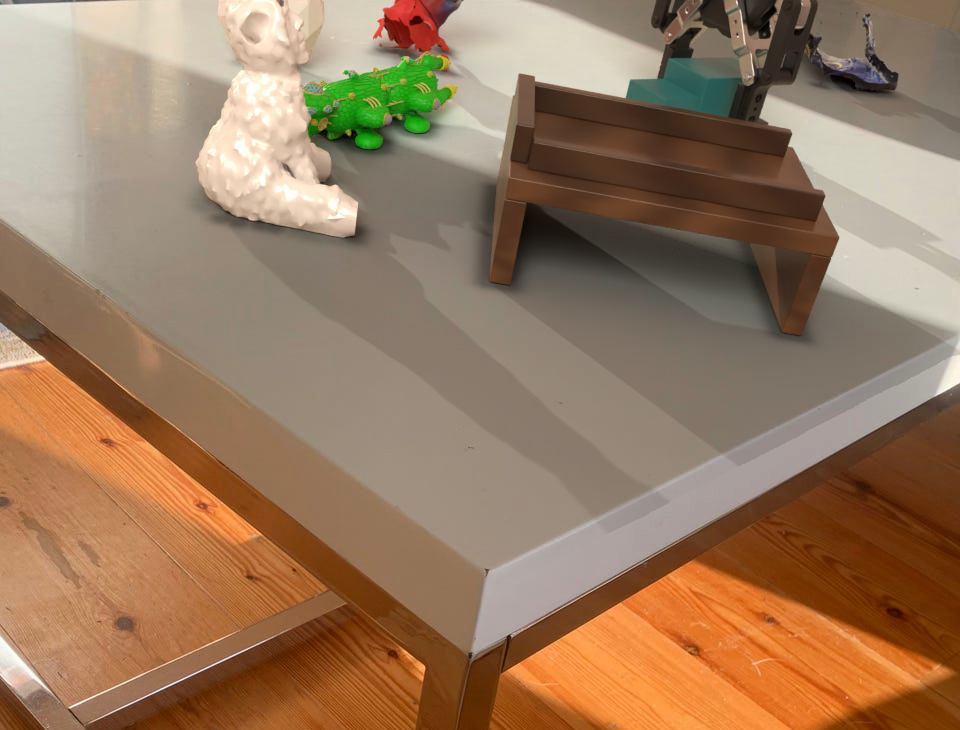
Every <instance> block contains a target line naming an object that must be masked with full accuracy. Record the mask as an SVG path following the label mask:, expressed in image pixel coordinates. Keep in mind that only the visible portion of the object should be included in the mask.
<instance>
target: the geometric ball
mask: <svg viewBox="0 0 960 730" xmlns="http://www.w3.org/2000/svg"><path fill="white" fill-rule="evenodd" d="M227 1H230V0H218V6H217V19H218V21H219V23H220V25H221V27H222V29H223V31H224V34H225V36H226V37H227V39H228V41H230V39H229V37H228V34H227V30H226V26H225V19H226V16H227V12H226V9H225V5H224V4H225V3H226V2H227ZM287 1H288V6H289V9H290V10H292V11H293V12H295V13H296V14H297V15H299V16H300V17H301V18H302V19H303V21H304V25H303V26H302V27H301V28H300V29H301V31H302V32H303V34H304V36H305V37H304V40H305V42H306V50H307V52H308V54H309V55H311V53H312V51H313V49H314V47H315V44H316V42H317V40H318V38H319V36H320V34H321V31H322V29H323V26H324V23H325V2H324V0H287Z"/></svg>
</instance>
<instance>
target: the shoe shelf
mask: <svg viewBox="0 0 960 730" xmlns="http://www.w3.org/2000/svg"><path fill="white" fill-rule="evenodd" d="M507 121H508V122H507V126H506V132H505V138H504V142H503V148H502V153H501V160H500V164H499V169H498V176H497V181H496V188H495V200H494V212H493V226H492V239H491V253H490V267H489V279H488V281H489V282H490V283H495V284H502V285H505V286H506V285H507V286H511V284H512V279H513V275H514V269H515V264H516V261H517V254H518V250H519V244H520V239H521V234H522V229H523V224H524V221H525V220H524V219H525V215H526V211H527V205H528V204H534V205H539V206H544V207H550V208H555V209H560V210H566V211H571V212H577V213H584V214H588V215H593V216H599V217H605V218H610V219H616V220H622V221H627V222H633V223H639V224H644V225H649V226H655V227H661V228H665V229H671V230H679V231H684V232H688V233H694V234H698V235H699V234H700V235H706V236H710V237H715V238H721V239H727V240H733V241H738V242H744V243H748V244H749V245H750V249H751V251H752V254H753V258H754V259H755V262H756V266H757V269H758V270H759V273H760V276H761V279H762V282H763V284H764V287H765V290H766V293H767V295H768V298H769V301H770V304H771V306H772V309H773V313H774V315H775V318H776V320H777V323H778V327H779V329H780V331H781V333H783V334H788V335H795V336H799V337H800V336H802V335H803V333H804V330H805V328H806V325H807V322H808V320H809V318H810V315H811V312H812V310H813V307H814V304H815V302H816V299H817V296H818V294H819V291H820V289H821V286H822V284H823V281H824V279H825V276H826V274H827V271H828V269H829V266H830V263H831V261H832V258H833V256H834V253H835V250H836V248H837V247H838V243H839V240H840V235H839V233H838V231H837V230H836V229H837V228H836V227H835V225H834V224H833V222H832V220H831V218H830V216H829V213H828V212H827V210H826V208H825V206H824V202H825V199H826V194H825V192H824V190H823V189H818V188H815V187H814V185H813V184H812V181H811V179H810V177H809V175H808V174H807V172H806V170H805V168H804V166H803V164H802V162H801V160H800V159H799V156H798V154H797V152H796V150H795V149H794V147H793V146H789V145H790V142H791V139H792V136H793V132H792V130H791V129H790V128H787V127H781V126H776V125H770V124H768V125H765V124H760V123H755V122H749V121H744V120H739V119H734V118H728V117H723V116H718V115H712V114H707V113H702V112H696V111H691V110H686V109H680V108H675V107H670V106H664V105H659V104H654V103H649V102H643V101H638V100H633V99H627V98H626V97H621V96H616V95H611V94H606V93H600V92H595V91H589V90H585V89H579V88H573V87H568V86H565V85H557V84H554V83H553V84H552V83H548V82H541V81H536V76H535V75H530V74H526V73H518V75H517V80H516V85H515V91H514V95H512V99H511V103H510V110H509V116H508V120H507Z"/></svg>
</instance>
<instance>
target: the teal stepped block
mask: <svg viewBox="0 0 960 730" xmlns="http://www.w3.org/2000/svg"><path fill="white" fill-rule="evenodd" d="M738 83H742V79H741V71H740V64H739V59H737V58H735V57H692V58H669V60H668V64H667V68H666V71H665V75H664V79H657V78H631V79H629V82H628V87H627V91H626V95H625V98H627V99H633V100H638V101H643V102H649V103H654V104H659V105H664V106H670V107H675V108H680V109H686V110H691V111H696V112H702V113H707V114H712V115H718V116H723V117H728V116H729V112H730V109H731V106H732V103H733V99H734V96H735V93H736V90H737V86H738ZM768 92H769V90H768V91H767V94H766V97H765V100H764V103H763V106H762V109H761V111H760V115H759V119H758V122H757V123H760V124H765V125H769V122H768V121H767V120H765V119H762V118H761V114H762V111H763V108H764V105H765V102H766V98H767V96H768Z"/></svg>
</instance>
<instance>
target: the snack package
mask: <svg viewBox="0 0 960 730" xmlns="http://www.w3.org/2000/svg"><path fill="white" fill-rule="evenodd" d="M854 13H855V14H856V15H857V14H859V12H858V11H855V12H854ZM839 15H842V12H839ZM861 18H862V19H861V20H862V24H861V25H862V27H863V28H865V31H866V32H865V34H866V39H865V41H866V43H865V48H864V55H865V58H866V59H865V58H862V57H855V56H854V57H849V58H840V57H837V56H833V55H829V54H827V53H825V52H824V51H823V50H821V49H819V44H820V43H821V41H822V40H823V37H822V36H814V35H813V34H812V33H811V32H810V34H809V38H808V41H807V44H806V47H805V50H804V51H805V52H806V54H807V58H808V60H809V61H810V63H812V64H813V65H815V66H817V67H819V68H820V70H821V74H822V76H824V77H825V76H838V77H843V78H845V79H850V80H852V82H853V83H854V84H855V85H854V86H855V91H864V90H865V91H869V90H870V91H871V92H872V91H884V90H887V91H896V89H897V87H898V83H899V75H900V74H899V73H898V72H897V71H892V70H891V69H889V68H888V67H887V65H886V63H885V62H884V60H881V59H880V58H879V57H878V56H877V53H876V50H875V49H876V47H877V43H876V41H877V40H876V38H874V37H873V32H874V23H873V20H872V15H871V12H870V13H866V14H863V16H862V17H861ZM819 24H820V25H823V21H822V20H819ZM816 34H817V35H819V34H820V33H819V32H816ZM819 84H820V85H823V84H824V82H819ZM848 89H849V87H847V90H848Z"/></svg>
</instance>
